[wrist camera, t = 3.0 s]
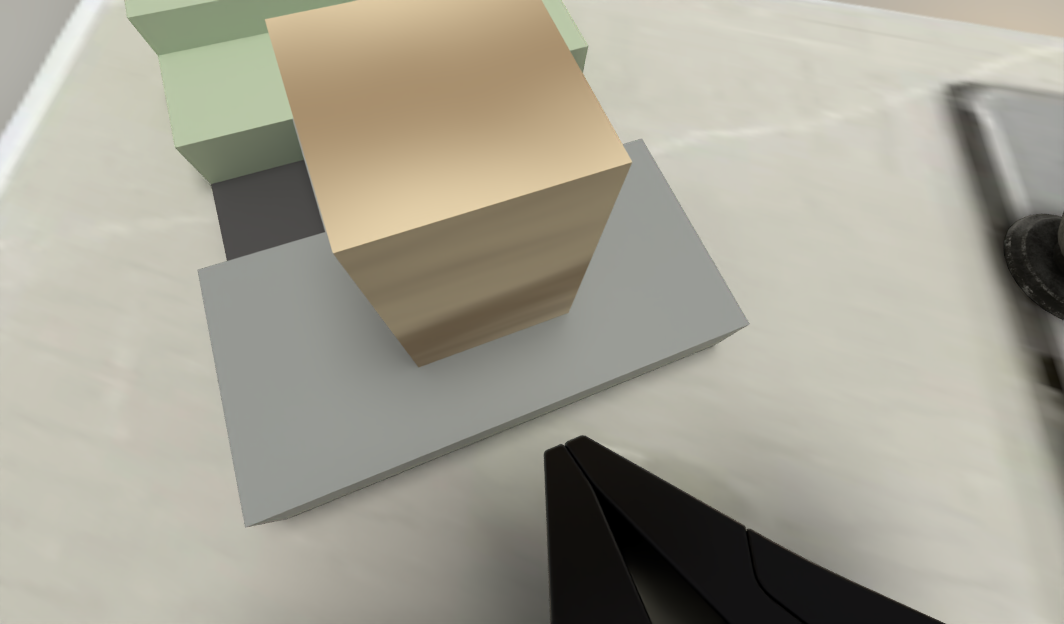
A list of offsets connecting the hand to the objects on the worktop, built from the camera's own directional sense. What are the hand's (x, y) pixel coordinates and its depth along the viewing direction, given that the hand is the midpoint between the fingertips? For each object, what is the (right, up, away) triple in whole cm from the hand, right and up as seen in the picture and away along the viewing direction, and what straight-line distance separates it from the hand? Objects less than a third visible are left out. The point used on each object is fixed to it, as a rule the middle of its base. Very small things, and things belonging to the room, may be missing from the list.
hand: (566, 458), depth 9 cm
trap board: (-4, +7, +10) cm, 13 cm away
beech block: (-3, +4, +6) cm, 8 cm away
